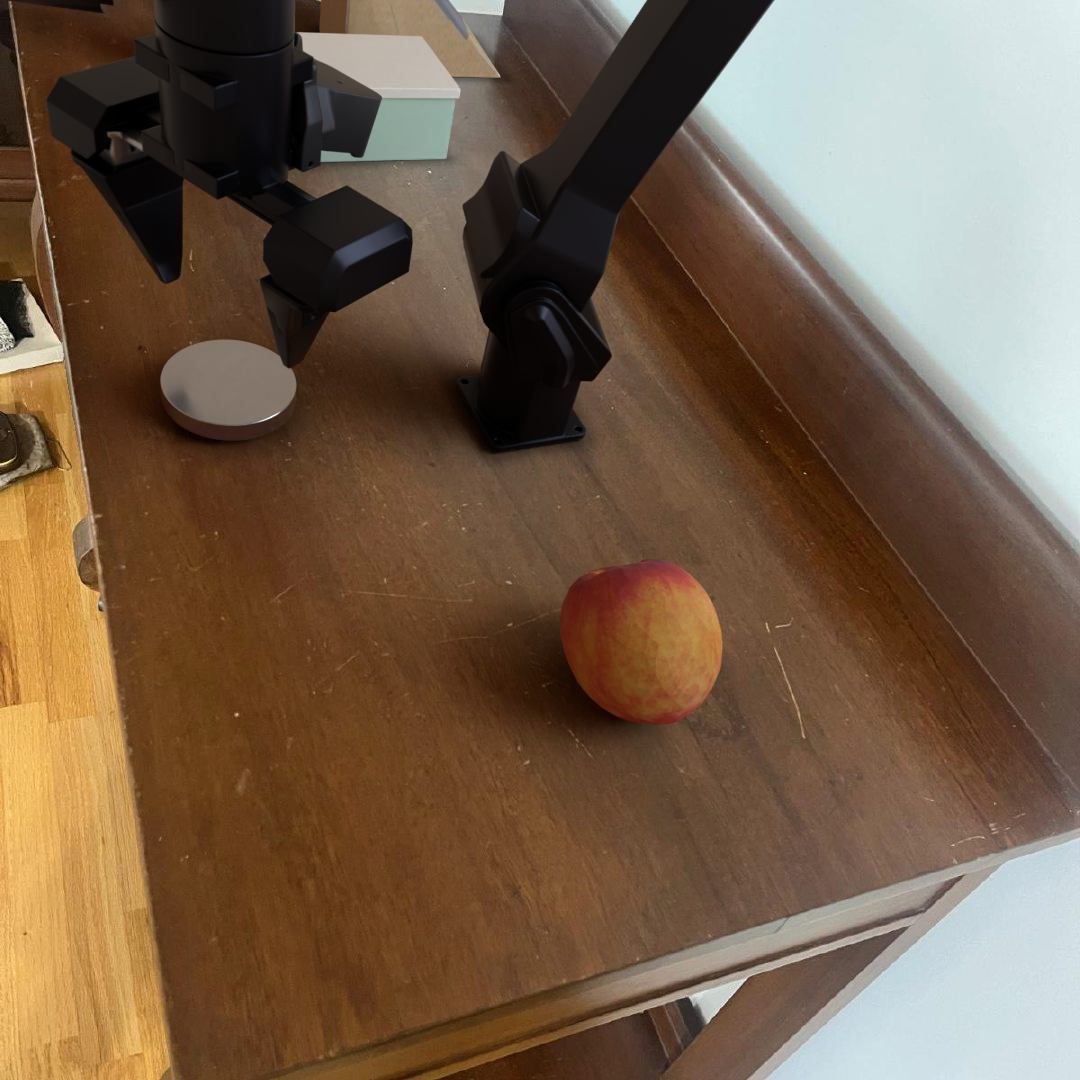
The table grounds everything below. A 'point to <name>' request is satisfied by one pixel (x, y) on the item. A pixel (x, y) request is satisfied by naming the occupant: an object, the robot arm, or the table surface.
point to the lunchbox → (394, 92)
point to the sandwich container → (413, 29)
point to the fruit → (642, 640)
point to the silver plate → (228, 390)
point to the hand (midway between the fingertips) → (230, 321)
